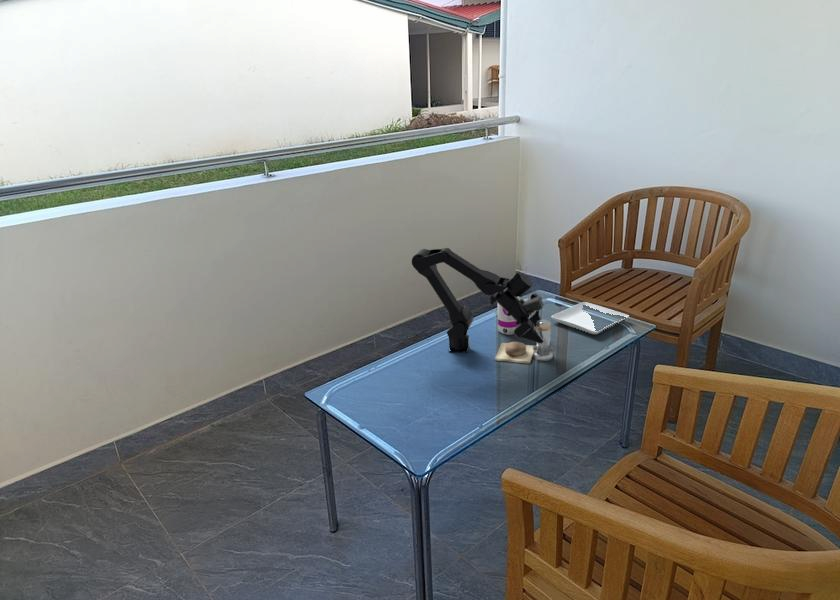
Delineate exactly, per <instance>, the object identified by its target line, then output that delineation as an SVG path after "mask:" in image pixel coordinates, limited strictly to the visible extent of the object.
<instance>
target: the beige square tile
mask: <svg viewBox="0 0 840 600" xmlns="http://www.w3.org/2000/svg"><path fill="white" fill-rule="evenodd" d="M534 346H535V345H531V344H530V345H529V344H525V343H523V342H520V341H511V342H501V344H500V347H499V349H498V350H497V352H496V355H495V357H494V361H499V362H509V363H519V364H531V362H532V360H533V358H534V357H533V354H534V351H535V350H533V347H534Z"/></svg>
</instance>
